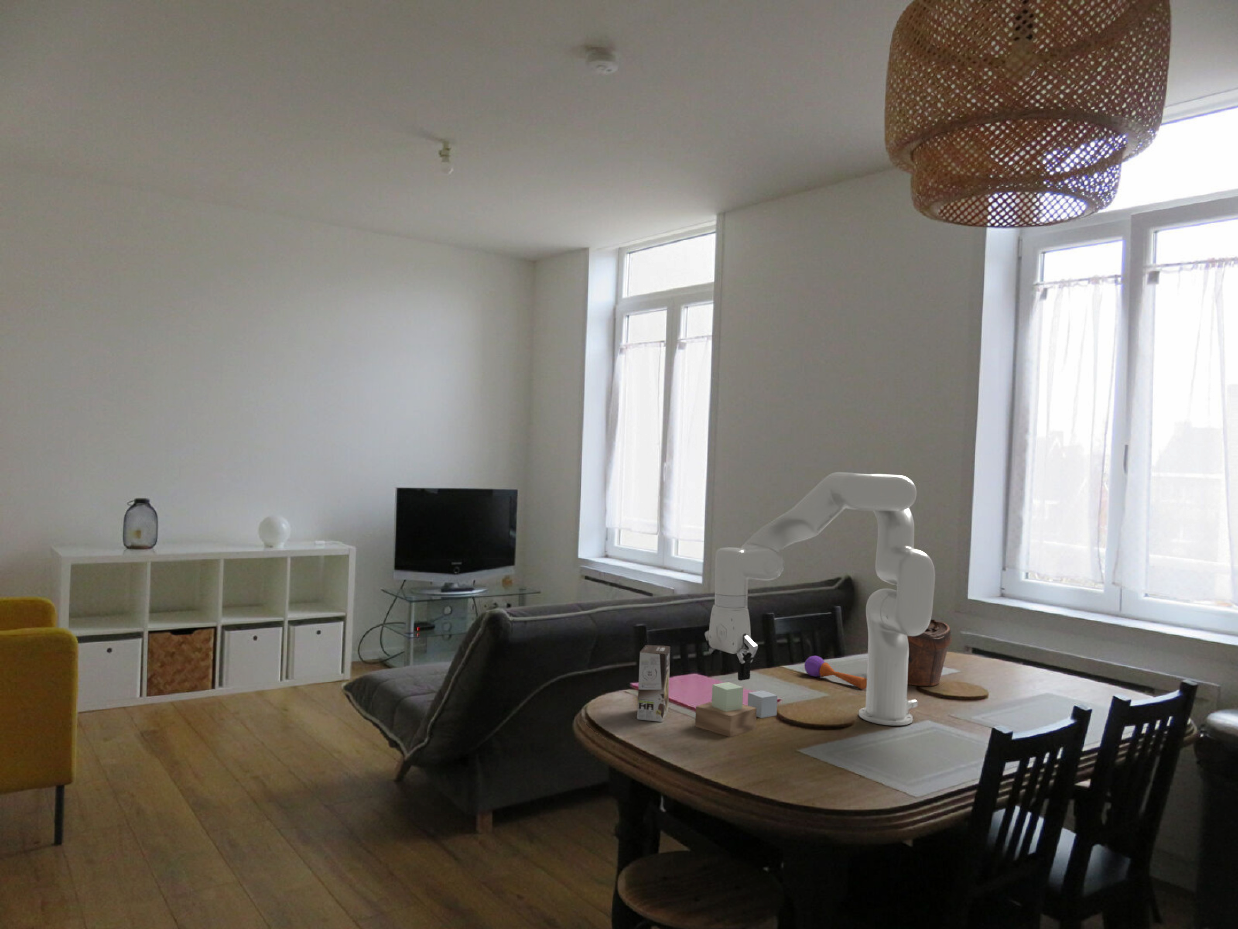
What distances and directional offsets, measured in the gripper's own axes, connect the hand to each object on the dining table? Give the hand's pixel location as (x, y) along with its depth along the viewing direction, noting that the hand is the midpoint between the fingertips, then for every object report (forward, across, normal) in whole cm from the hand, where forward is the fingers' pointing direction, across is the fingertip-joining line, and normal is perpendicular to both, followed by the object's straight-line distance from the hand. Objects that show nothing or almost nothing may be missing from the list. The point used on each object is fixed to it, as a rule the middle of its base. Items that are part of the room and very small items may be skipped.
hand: (729, 674), depth 206 cm
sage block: (+7, 0, -1) cm, 8 cm away
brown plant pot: (+14, -8, +78) cm, 80 cm away
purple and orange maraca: (+14, -18, +55) cm, 60 cm away
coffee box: (+12, -15, -11) cm, 22 cm away
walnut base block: (+12, 0, -1) cm, 13 cm away
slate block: (+13, -4, +14) cm, 20 cm away
